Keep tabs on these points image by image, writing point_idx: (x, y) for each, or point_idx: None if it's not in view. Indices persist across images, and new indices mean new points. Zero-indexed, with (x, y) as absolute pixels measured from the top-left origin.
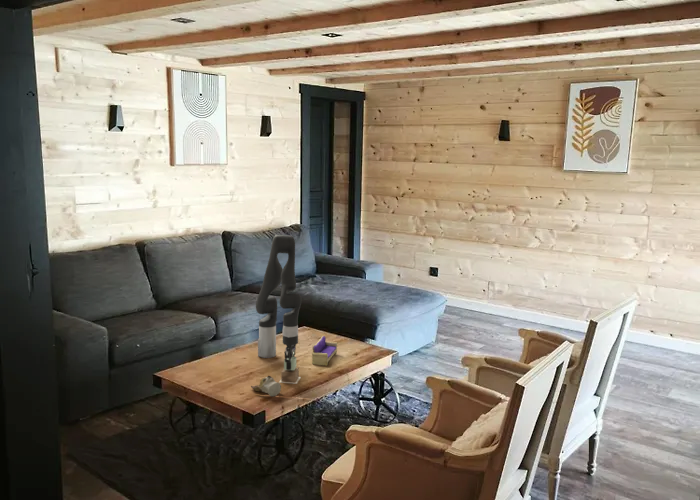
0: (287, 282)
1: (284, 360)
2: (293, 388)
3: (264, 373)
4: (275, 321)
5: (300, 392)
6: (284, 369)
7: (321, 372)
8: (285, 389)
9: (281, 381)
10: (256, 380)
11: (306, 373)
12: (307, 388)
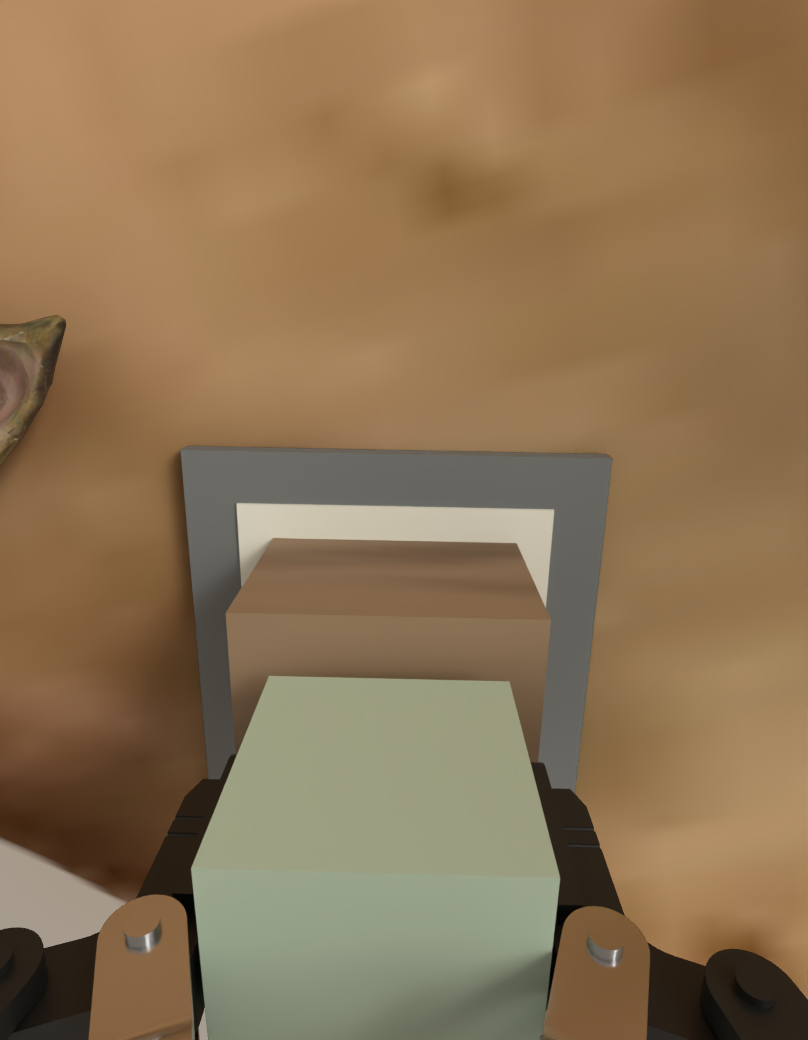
0: None
1: (200, 862)
2: (123, 736)
3: (701, 90)
4: None
5: (21, 839)
6: (267, 689)
7: (781, 963)
8: (51, 642)
9: (272, 541)
10: (294, 26)
11: (734, 799)
12: None
